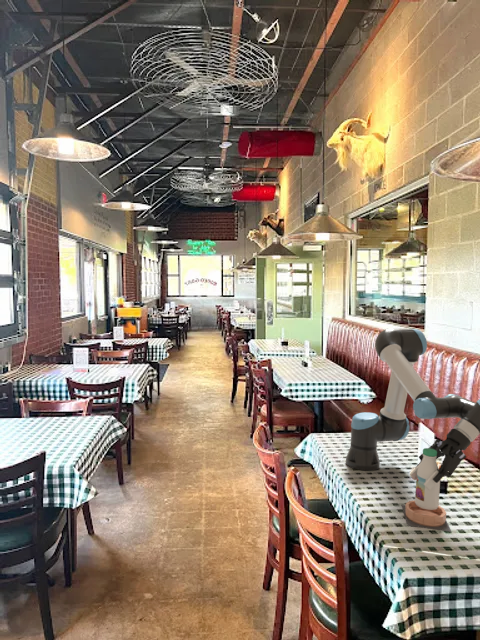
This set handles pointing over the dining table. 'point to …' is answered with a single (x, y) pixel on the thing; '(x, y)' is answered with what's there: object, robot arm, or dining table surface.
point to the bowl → (425, 515)
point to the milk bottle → (424, 472)
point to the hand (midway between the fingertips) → (419, 482)
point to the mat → (413, 524)
